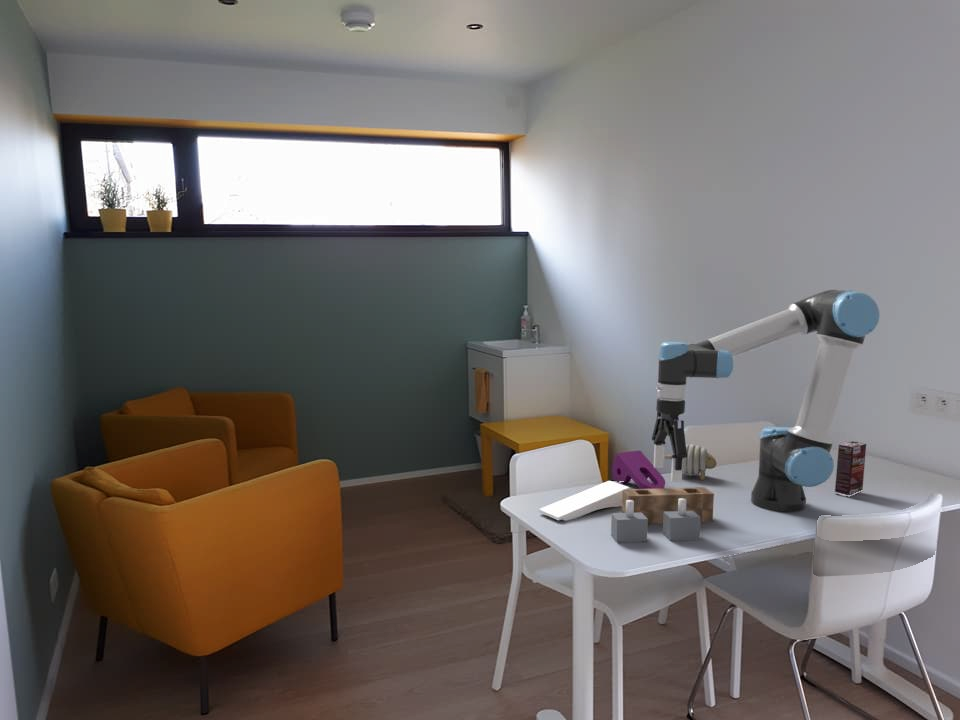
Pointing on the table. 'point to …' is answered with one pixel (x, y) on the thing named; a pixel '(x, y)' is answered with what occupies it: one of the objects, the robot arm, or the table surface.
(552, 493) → the table surface
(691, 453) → the toy sheep
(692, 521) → the peg blocks
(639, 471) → the mounting bracket
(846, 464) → the supplement box
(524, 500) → the table surface
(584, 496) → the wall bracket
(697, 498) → the walnut rail
